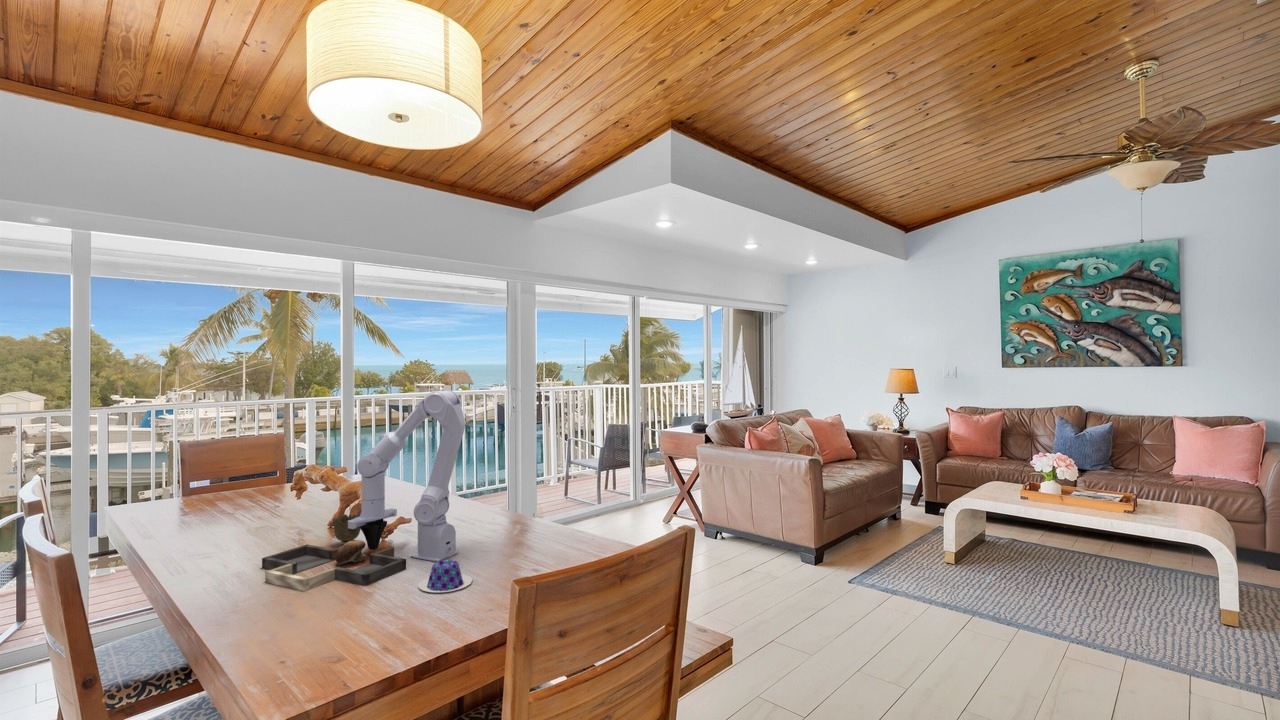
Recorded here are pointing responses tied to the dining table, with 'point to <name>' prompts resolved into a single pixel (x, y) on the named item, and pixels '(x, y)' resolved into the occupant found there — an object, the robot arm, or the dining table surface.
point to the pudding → (445, 577)
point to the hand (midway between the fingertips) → (373, 548)
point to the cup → (345, 529)
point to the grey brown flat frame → (313, 556)
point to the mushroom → (350, 552)
